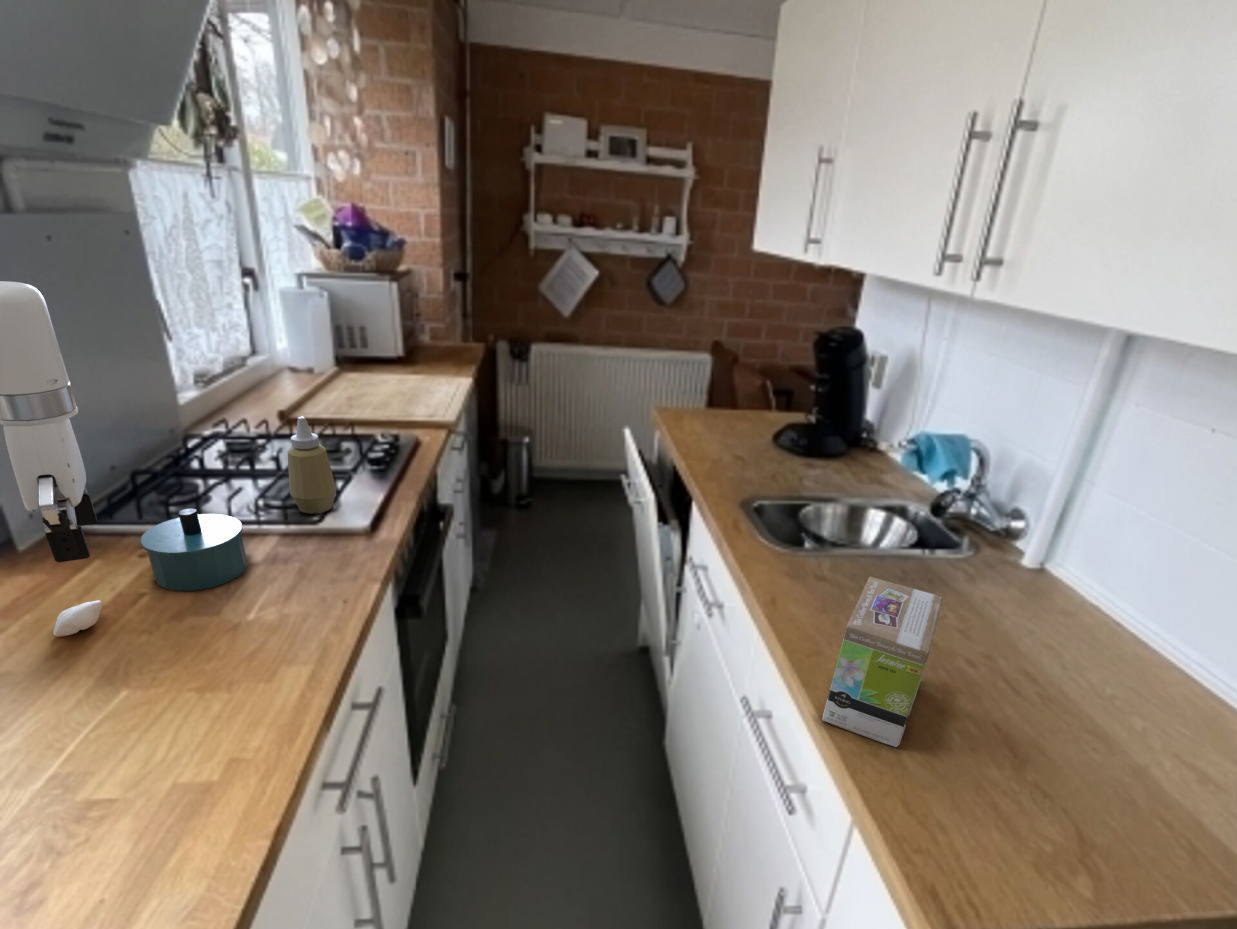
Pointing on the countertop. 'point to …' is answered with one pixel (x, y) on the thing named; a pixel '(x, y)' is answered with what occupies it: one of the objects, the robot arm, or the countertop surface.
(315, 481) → the squeeze bottle
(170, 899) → the countertop surface
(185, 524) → the pot lid
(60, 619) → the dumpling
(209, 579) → the pot
